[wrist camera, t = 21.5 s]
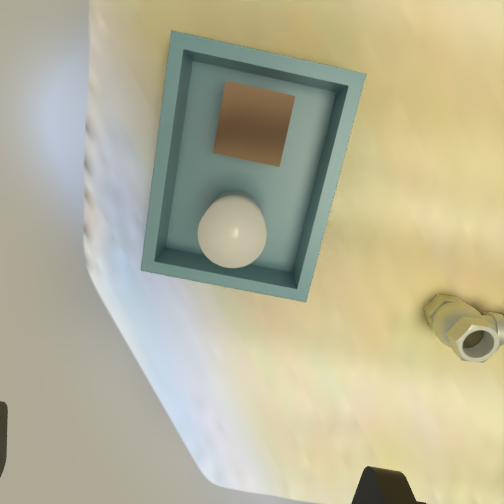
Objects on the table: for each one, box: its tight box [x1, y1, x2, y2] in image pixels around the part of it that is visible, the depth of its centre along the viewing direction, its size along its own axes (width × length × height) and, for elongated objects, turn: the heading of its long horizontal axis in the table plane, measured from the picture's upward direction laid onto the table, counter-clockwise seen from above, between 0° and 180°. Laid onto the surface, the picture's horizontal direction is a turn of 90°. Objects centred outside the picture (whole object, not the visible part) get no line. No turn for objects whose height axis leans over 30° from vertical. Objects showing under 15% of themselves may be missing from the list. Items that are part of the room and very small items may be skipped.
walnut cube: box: [213, 81, 295, 167], centre depth 30 cm, size 5×5×5 cm
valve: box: [424, 294, 504, 362], centre depth 35 cm, size 7×7×12 cm
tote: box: [141, 30, 366, 302], centre depth 32 cm, size 18×14×5 cm
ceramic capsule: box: [198, 190, 267, 268], centre depth 31 cm, size 5×5×7 cm
